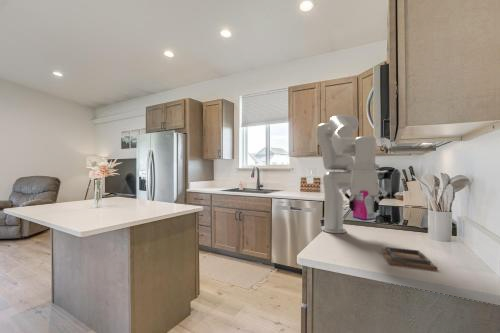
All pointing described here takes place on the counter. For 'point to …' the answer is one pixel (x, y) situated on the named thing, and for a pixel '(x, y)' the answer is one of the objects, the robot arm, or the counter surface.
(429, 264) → the base board
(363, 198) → the supplement box
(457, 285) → the counter surface
